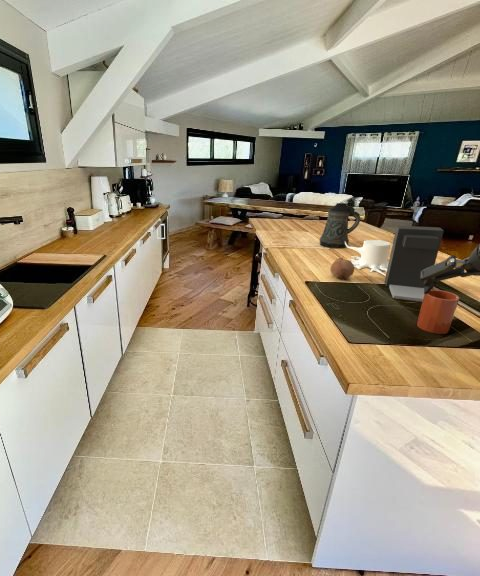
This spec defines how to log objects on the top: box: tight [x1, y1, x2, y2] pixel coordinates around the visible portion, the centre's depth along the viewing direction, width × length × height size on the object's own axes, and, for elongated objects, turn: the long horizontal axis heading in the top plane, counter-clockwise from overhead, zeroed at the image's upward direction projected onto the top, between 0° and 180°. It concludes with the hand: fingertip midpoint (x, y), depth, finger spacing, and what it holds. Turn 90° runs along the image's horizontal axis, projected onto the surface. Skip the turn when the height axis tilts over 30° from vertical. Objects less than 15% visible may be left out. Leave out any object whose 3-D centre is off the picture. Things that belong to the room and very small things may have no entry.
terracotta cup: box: [416, 289, 460, 335], centre depth 94 cm, size 8×8×11 cm
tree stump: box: [345, 239, 392, 277], centre depth 153 cm, size 28×28×11 cm
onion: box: [329, 257, 355, 281], centre depth 137 cm, size 10×9×10 cm
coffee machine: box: [384, 225, 445, 303], centre depth 118 cm, size 14×18×24 cm
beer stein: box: [319, 202, 361, 249], centre depth 187 cm, size 16×19×25 cm
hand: (456, 292), depth 82 cm, fingers open, 13 cm apart
